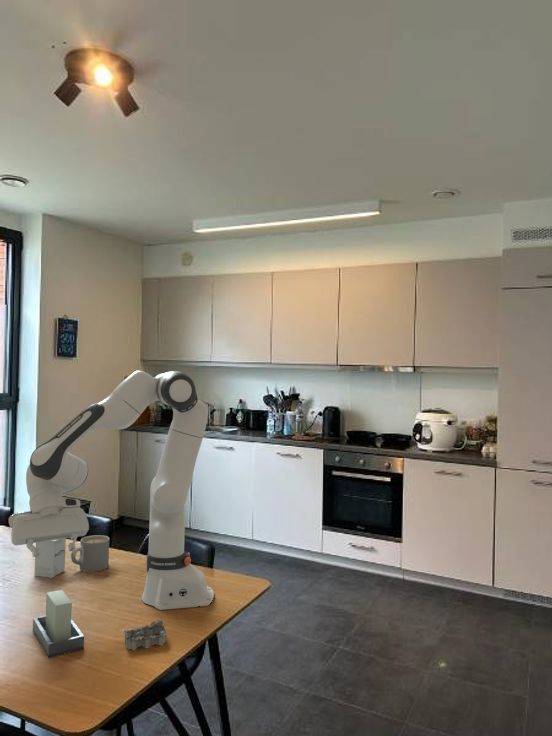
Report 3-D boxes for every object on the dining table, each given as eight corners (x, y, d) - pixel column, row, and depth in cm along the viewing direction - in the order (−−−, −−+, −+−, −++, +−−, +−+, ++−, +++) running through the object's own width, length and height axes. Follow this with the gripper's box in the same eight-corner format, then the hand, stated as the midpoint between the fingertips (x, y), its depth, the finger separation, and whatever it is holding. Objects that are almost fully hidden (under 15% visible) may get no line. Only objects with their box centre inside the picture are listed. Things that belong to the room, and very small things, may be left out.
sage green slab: (60, 626, 151) (62, 589, 152) (70, 641, 143) (71, 602, 143) (45, 629, 149) (46, 592, 149) (54, 645, 141) (55, 605, 141)
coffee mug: (104, 560, 208) (105, 533, 208) (111, 568, 199) (112, 541, 200) (67, 566, 201) (68, 538, 201) (72, 574, 192) (73, 545, 193)
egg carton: (163, 634, 151) (164, 619, 151) (167, 647, 144) (168, 631, 144) (123, 638, 148) (124, 623, 148) (125, 652, 141) (125, 636, 141)
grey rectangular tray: (65, 622, 156) (65, 611, 156) (83, 649, 141) (84, 636, 141) (32, 630, 151) (33, 617, 151) (48, 658, 136) (48, 644, 136)
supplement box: (52, 578, 189) (54, 541, 189) (33, 576, 190) (35, 539, 190) (65, 571, 196) (66, 535, 196) (46, 568, 198) (48, 533, 198)
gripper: (9, 507, 152) (15, 553, 144) (85, 499, 164) (94, 541, 155) (6, 520, 155) (11, 565, 147) (80, 511, 167) (89, 552, 159)
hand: (54, 552), depth 151 cm, fingers open, 8 cm apart
